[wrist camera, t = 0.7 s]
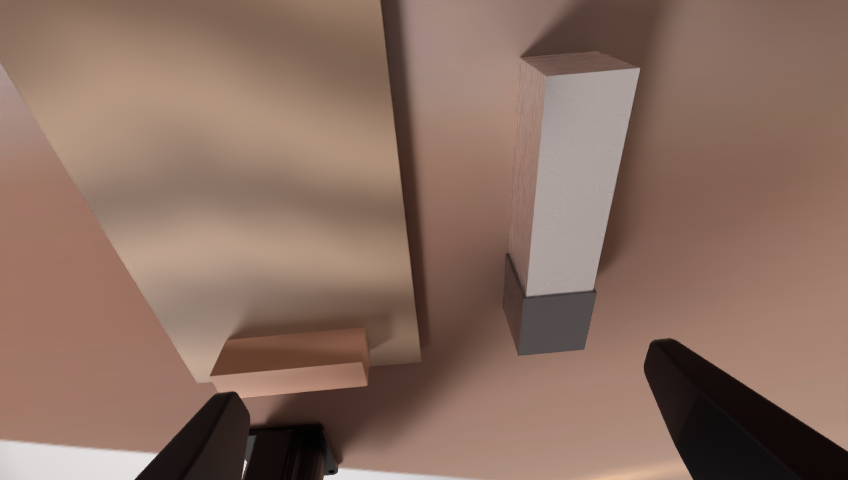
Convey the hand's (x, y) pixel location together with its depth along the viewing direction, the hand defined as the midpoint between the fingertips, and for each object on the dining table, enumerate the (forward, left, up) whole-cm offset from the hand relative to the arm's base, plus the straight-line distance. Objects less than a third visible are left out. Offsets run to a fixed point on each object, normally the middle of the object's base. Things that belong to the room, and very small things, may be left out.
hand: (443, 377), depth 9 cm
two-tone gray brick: (-3, -6, -12) cm, 14 cm away
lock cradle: (-1, +8, -12) cm, 14 cm away
